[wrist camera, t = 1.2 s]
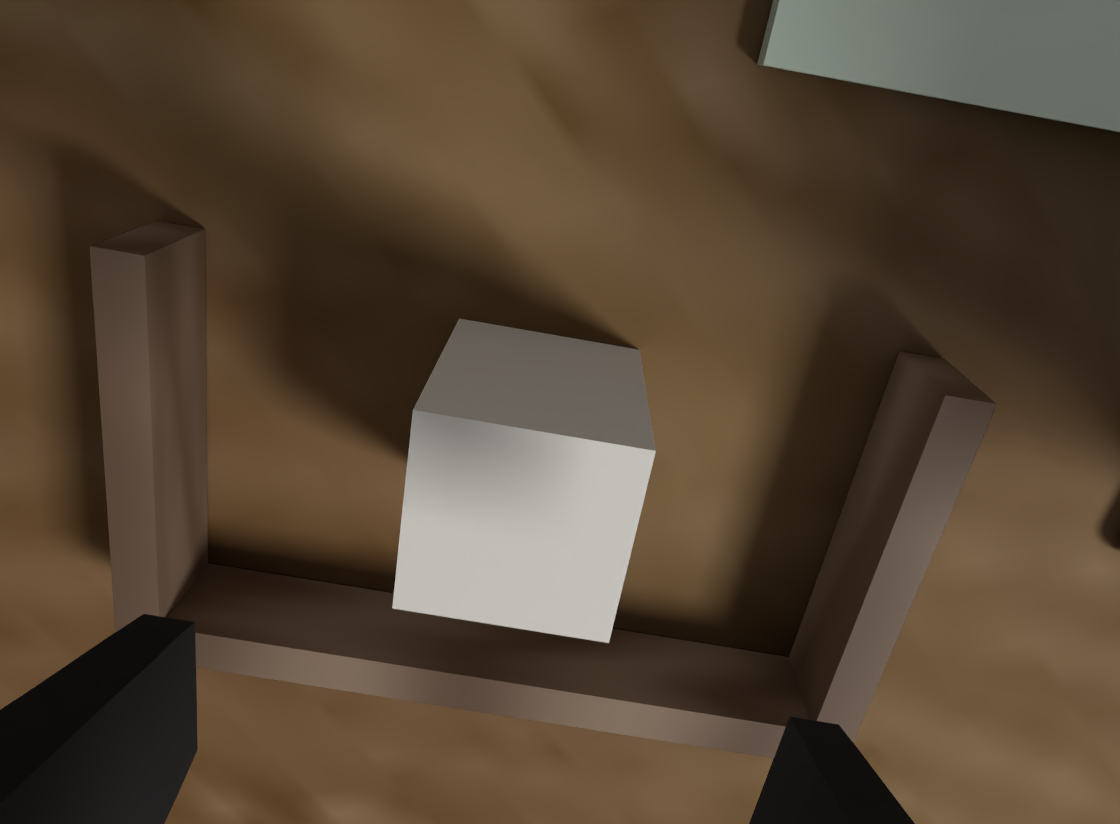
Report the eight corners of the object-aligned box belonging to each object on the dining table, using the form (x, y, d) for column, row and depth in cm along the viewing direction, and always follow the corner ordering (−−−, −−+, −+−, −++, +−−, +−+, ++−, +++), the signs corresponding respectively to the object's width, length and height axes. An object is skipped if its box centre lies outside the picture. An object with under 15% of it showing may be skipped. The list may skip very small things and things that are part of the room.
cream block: (639, 349, 18) (655, 450, 13) (605, 504, 19) (608, 642, 15) (459, 317, 18) (412, 410, 13) (439, 477, 19) (392, 608, 15)
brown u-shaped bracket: (944, 358, 18) (997, 404, 15) (815, 692, 21) (841, 769, 19) (157, 220, 17) (88, 245, 15) (169, 588, 21) (117, 655, 18)
